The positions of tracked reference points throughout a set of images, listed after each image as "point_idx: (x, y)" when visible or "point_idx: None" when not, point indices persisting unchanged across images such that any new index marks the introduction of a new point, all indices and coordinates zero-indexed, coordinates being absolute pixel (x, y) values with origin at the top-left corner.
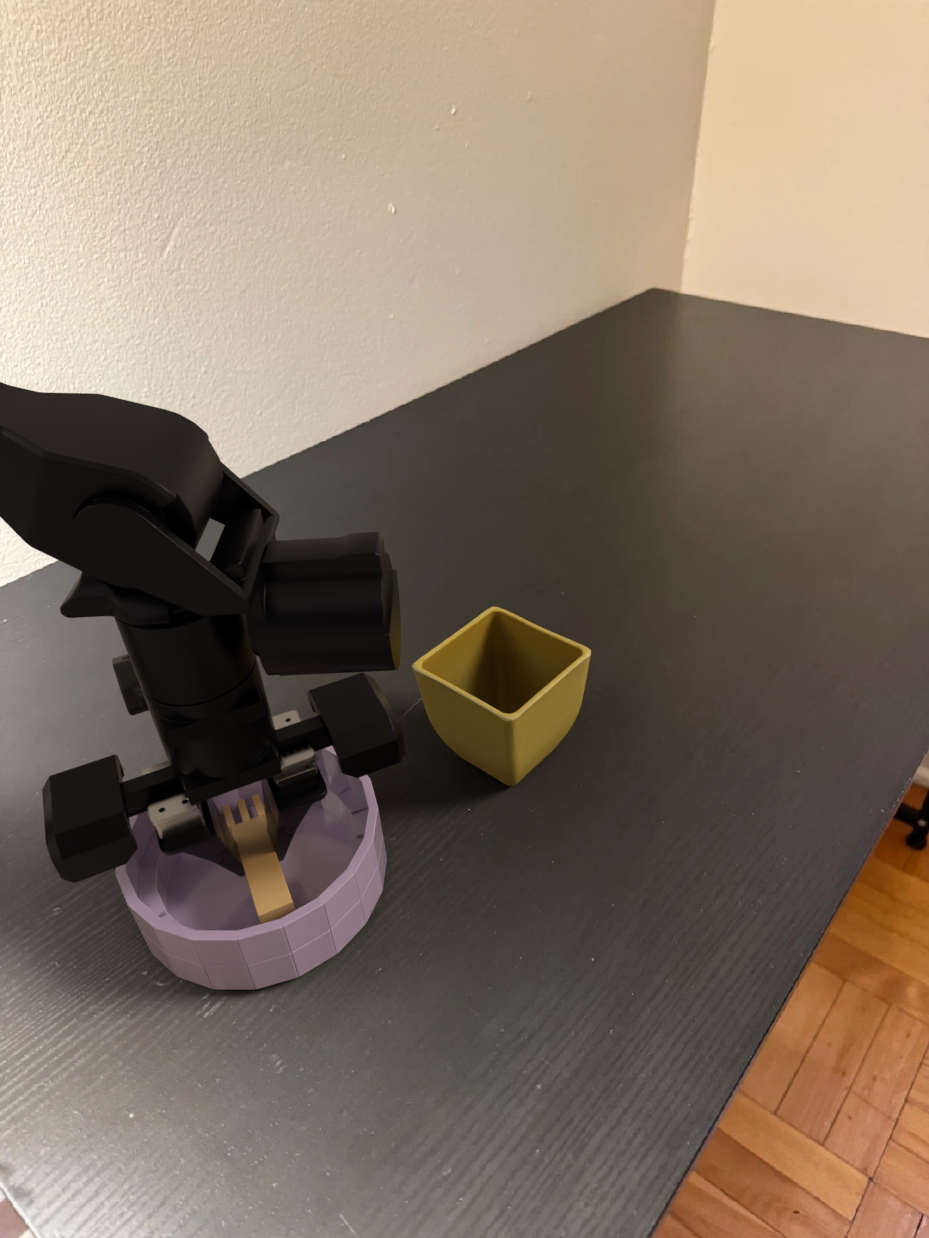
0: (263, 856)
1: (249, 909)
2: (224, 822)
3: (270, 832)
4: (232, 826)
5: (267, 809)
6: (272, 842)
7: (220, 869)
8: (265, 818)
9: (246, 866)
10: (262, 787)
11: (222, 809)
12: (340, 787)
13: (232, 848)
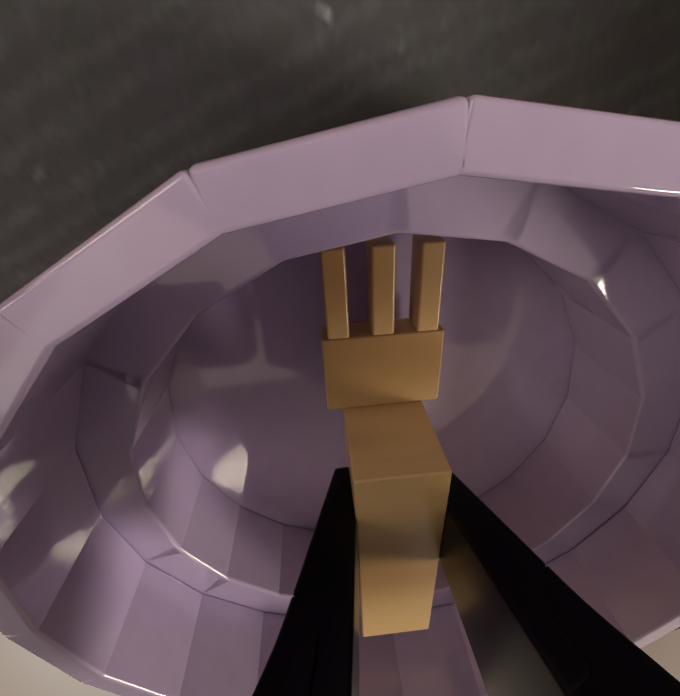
0: (410, 564)
1: (332, 464)
2: (354, 614)
3: (455, 560)
4: (358, 482)
5: (503, 645)
6: (443, 547)
7: (288, 374)
8: (432, 344)
9: (367, 574)
10: (553, 685)
11: (321, 265)
12: (670, 375)
13: (358, 653)
